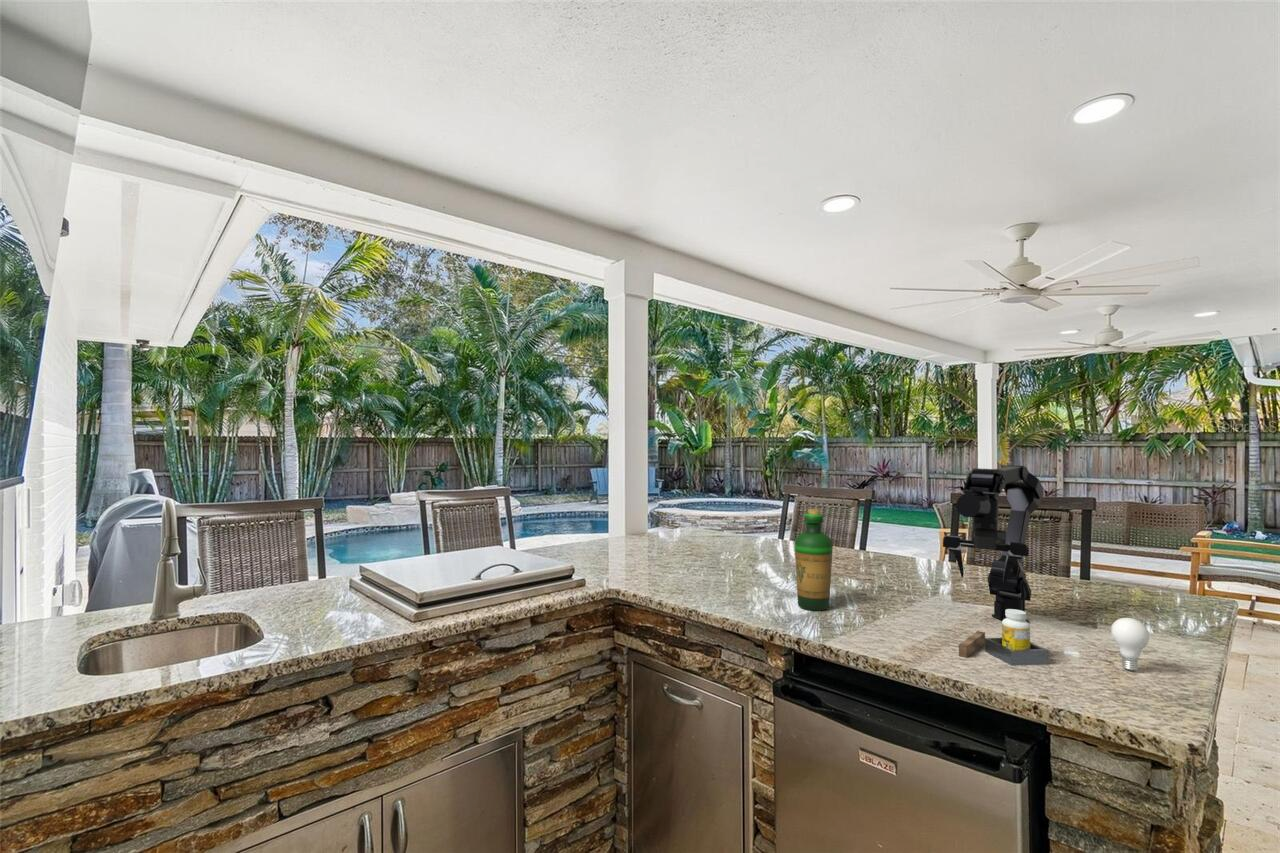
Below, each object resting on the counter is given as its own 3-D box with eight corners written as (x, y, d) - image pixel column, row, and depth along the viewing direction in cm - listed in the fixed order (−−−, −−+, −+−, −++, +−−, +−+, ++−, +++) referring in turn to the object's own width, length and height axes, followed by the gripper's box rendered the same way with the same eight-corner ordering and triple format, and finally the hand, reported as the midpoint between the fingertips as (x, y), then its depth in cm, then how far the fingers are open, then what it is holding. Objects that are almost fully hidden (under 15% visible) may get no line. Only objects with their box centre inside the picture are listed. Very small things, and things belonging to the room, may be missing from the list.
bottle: (791, 610, 172) (792, 510, 172) (796, 600, 182) (797, 506, 182) (831, 614, 168) (831, 512, 168) (834, 604, 178) (834, 508, 178)
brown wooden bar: (977, 641, 146) (977, 630, 146) (985, 643, 145) (985, 632, 145) (958, 655, 136) (958, 644, 136) (966, 657, 135) (966, 646, 135)
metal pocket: (1020, 650, 140) (1020, 637, 140) (1048, 664, 132) (1048, 650, 132) (985, 651, 140) (984, 638, 140) (1011, 665, 131) (1011, 651, 131)
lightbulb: (1103, 665, 132) (1103, 614, 132) (1130, 664, 132) (1130, 613, 132) (1129, 676, 125) (1129, 623, 125) (1157, 676, 126) (1157, 622, 126)
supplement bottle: (1034, 659, 133) (1034, 615, 133) (1007, 657, 134) (1007, 614, 134) (1024, 651, 138) (1024, 608, 138) (998, 649, 139) (998, 607, 139)
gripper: (943, 515, 153) (940, 578, 151) (1031, 523, 144) (1029, 590, 143) (944, 513, 162) (942, 573, 161) (1027, 521, 154) (1025, 584, 152)
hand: (982, 579), depth 154 cm, fingers open, 9 cm apart
